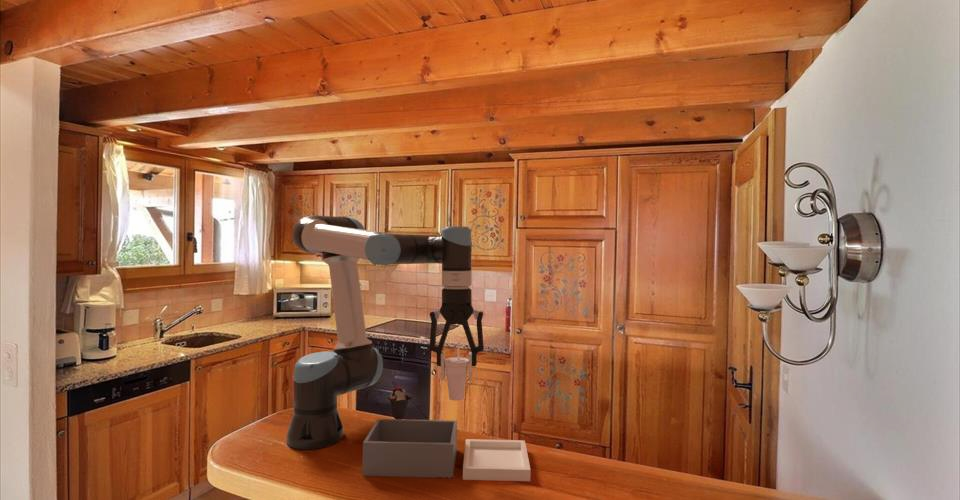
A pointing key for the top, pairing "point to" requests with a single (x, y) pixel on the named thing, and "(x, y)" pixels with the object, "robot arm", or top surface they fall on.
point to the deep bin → (410, 448)
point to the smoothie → (456, 375)
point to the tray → (496, 460)
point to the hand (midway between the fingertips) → (456, 378)
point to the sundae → (399, 402)
